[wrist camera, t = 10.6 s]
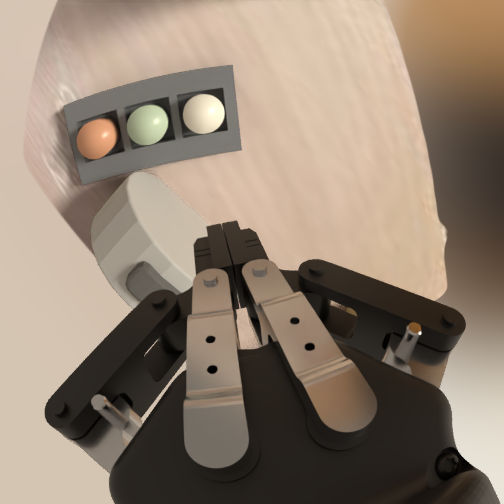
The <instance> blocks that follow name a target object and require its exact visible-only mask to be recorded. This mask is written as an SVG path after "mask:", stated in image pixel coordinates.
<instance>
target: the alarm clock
mask: <svg viewBox="0 0 504 504" xmlns="http://www.w3.org/2000/svg"><path fill="white" fill-rule="evenodd" d="M210 225H211V224H210V223H209V222H208V221H207V220H206V219H205V218H203V217H202V216H201V215H200V214H199V213H198V212H197V211H196V210H195V209H194V208H192V207H191V206H190V205H189V204H188V203H187V202H186V201H185V200H184V199H183V198H182V197H180V196H179V195H178V194H177V193H176V192H175V191H174V190H173V189H172V188H171V187H170V186H168V185H167V184H166V183H165V182H164V181H163V180H162V179H161V178H159V177H157V176H155V175H153V174H150V173H147V172H133V173H132V174H131V175H129V176H128V177H127V178H126V179H125V181H124V182H123V183H122V184H121V185H120V186H119V187H118V189H117V190H116V191H115V192H114V193H113V194H112V196H111V197H110V198H109V199H108V200H107V202H106V203H105V204H104V205H103V207H102V208H101V209H100V210H99V212H98V213H97V214H96V215H95V217H94V219H93V222H92V226H91V244H92V248H93V251H94V254H95V257H96V260H97V262H98V265H99V267H100V269H101V270H102V272H103V274H104V275H105V277H106V278H107V280H108V282H109V283H110V285H111V286H112V288H113V289H114V290H115V291H116V292H117V293H118V294H119V295H120V297H121V298H122V299H123V300H124V301H125V302H126V303H127V304H128V305H129V306H130V307H131V308H133V309H134V308H135V307H136V306H137V305H138V304H139V303H140V302H141V301H142V300H143V299H144V298H145V297H146V296H147V295H149V294H150V293H152V292H154V291H157V290H162V289H166V290H170V291H172V292H174V293H175V294H176V295H178V294H180V293H183V292H185V291H186V290H188V289H189V288H191V287H192V286H193V280H194V278H195V276H196V271H195V259H194V247H193V245H194V243H195V241H196V240H197V238H202V237H207V236H208V235H207V229H206V226H210ZM237 297H238V296H237Z"/></svg>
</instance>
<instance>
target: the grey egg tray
mask: <svg viewBox="0 0 504 504" xmlns="http://www.w3.org/2000/svg"><path fill="white" fill-rule="evenodd" d="M199 94H207V95H211V96H214V97H216V98H217V99H218V100H219V101H220V102H221V103H222V105H223V107H224V112H225V114H224V119H223V122H222V124H221V125H220V126H219V127H218V128H217V129H216V130H214V131H213V132H210V133H207V134H199V133H195V132H193V131H191V130H190V129H189V128H188V127H187V126H186V124H185V122H184V119H183V111H184V107H185V105H186V103H187V101H188V100H189V99H190V98H192V97H194V96H196V95H199ZM149 104H156V105H160V106H161V107H163V108H164V109H165V110H166V111H167V113H168V115H169V126H168V128H167V130H166V132H165V134H164V136H163V137H162V138H161V139H160V140H159V141H158V142H156V143H154V144H151V145H140V144H137V143H136V142H134V141H133V140H132V139H131V138H130V136H129V134H128V131H127V122H128V119H129V117H130V115H131V114H132V113H133V112H134V111H135V110H136V109H138V108H140V107H143V106H145V105H149ZM63 107H64V113H65V118H66V123H67V128H68V132H69V137H70V141H71V145H72V150H73V154H74V157H75V161H76V165H77V169H78V172H79V176H80V179H81V183H82V185H86V184H89V183H92V182H96V181H99V180H103V179H106V178H110V177H114V176H117V175H121V174H125V173H129V172H133V171H137V170H141V169H145V168H150V167H154V166H158V165H163V164H167V163H172V162H177V161H182V160H187V159H192V158H198V157H203V156H209V155H215V154H221V153H227V152H233V151H240V150H242V148H241V139H240V129H239V120H238V111H237V102H236V92H235V83H234V74H233V65H227V66H218V67H210V68H203V69H196V70H190V71H184V72H179V73H173V74H168V75H164V76H159V77H154V78H150V79H146V80H142V81H138V82H134V83H130V84H126V85H123V86H119V87H116V88H113V89H109V90H106V91H103V92H100V93H97V94H94V95H91V96H88V97H85V98H82V99H80V100H77V101H74V102H72V103H69V104H67V105H64V106H63ZM102 117H108V118H111V119H113V120H115V121H116V122H117V124H118V125H119V128H120V139H119V141H118V143H117V145H116V146H115V147H114V148H113V149H111V150H110V151H109V152H108V153H107V154H106V155H105V156H103V157H101V158H99V159H89V158H86V157H84V156H83V155H82V154H81V153H80V151H79V149H78V147H77V136H78V133H79V131H80V129H81V128H82V127H83V126H84V125H85V124H87V123H88V122H91V121H93V120H96V119H99V118H102Z"/></svg>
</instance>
